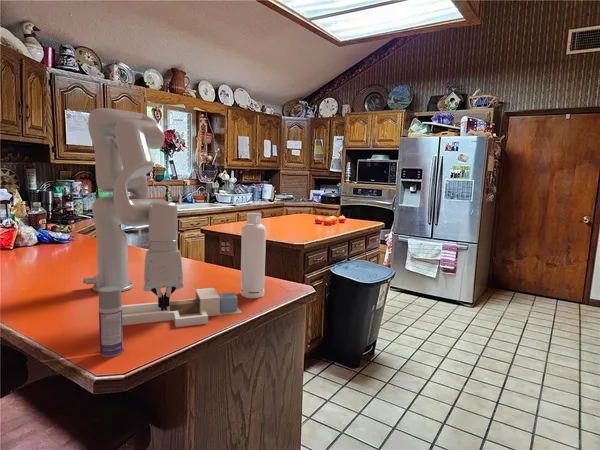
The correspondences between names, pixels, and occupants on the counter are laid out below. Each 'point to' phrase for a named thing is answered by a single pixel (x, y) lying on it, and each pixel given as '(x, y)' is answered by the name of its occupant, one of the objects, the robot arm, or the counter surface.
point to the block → (228, 302)
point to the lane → (154, 313)
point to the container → (110, 321)
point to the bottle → (253, 257)
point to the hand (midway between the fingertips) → (163, 309)
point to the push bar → (185, 306)
